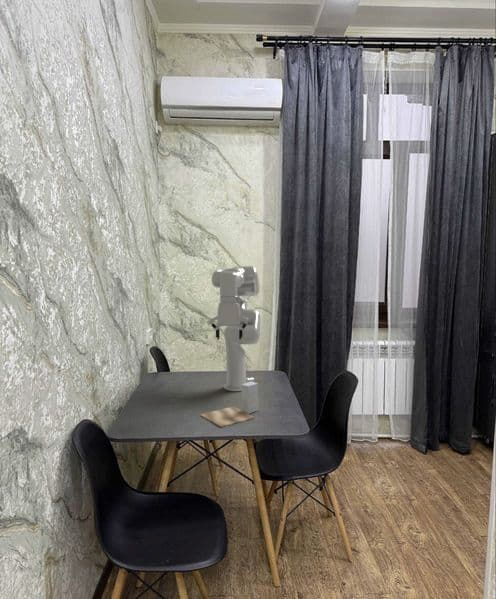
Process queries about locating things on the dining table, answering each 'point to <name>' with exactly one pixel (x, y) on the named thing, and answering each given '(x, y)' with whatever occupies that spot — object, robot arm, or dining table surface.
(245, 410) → the skincare box
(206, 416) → the wooden board
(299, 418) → the dining table surface
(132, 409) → the dining table surface
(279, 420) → the dining table surface
